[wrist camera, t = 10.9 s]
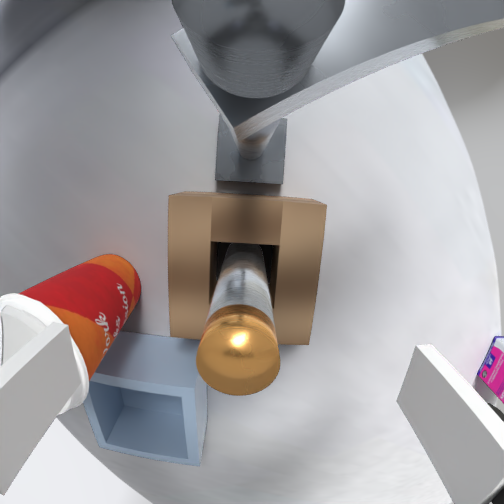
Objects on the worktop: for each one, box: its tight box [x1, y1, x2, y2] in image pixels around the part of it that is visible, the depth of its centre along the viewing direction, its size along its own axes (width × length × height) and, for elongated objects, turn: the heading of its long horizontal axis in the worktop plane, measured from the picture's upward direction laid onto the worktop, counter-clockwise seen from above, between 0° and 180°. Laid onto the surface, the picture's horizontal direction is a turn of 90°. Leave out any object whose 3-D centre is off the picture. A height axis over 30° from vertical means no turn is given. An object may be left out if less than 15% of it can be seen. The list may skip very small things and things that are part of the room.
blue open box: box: [83, 331, 208, 466], centre depth 25 cm, size 10×10×7 cm
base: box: [215, 115, 287, 184], centre depth 22 cm, size 5×5×1 cm
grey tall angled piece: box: [171, 0, 504, 160], centre depth 11 cm, size 13×2×20 cm, turn 121°
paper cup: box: [0, 254, 141, 415], centre depth 19 cm, size 8×8×14 cm
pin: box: [196, 242, 280, 395], centre depth 18 cm, size 3×3×15 cm
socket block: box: [168, 191, 327, 345], centre depth 23 cm, size 10×10×5 cm
